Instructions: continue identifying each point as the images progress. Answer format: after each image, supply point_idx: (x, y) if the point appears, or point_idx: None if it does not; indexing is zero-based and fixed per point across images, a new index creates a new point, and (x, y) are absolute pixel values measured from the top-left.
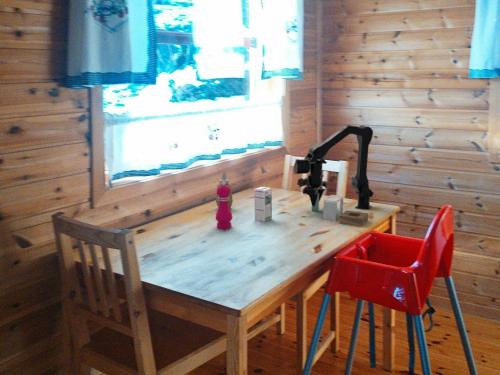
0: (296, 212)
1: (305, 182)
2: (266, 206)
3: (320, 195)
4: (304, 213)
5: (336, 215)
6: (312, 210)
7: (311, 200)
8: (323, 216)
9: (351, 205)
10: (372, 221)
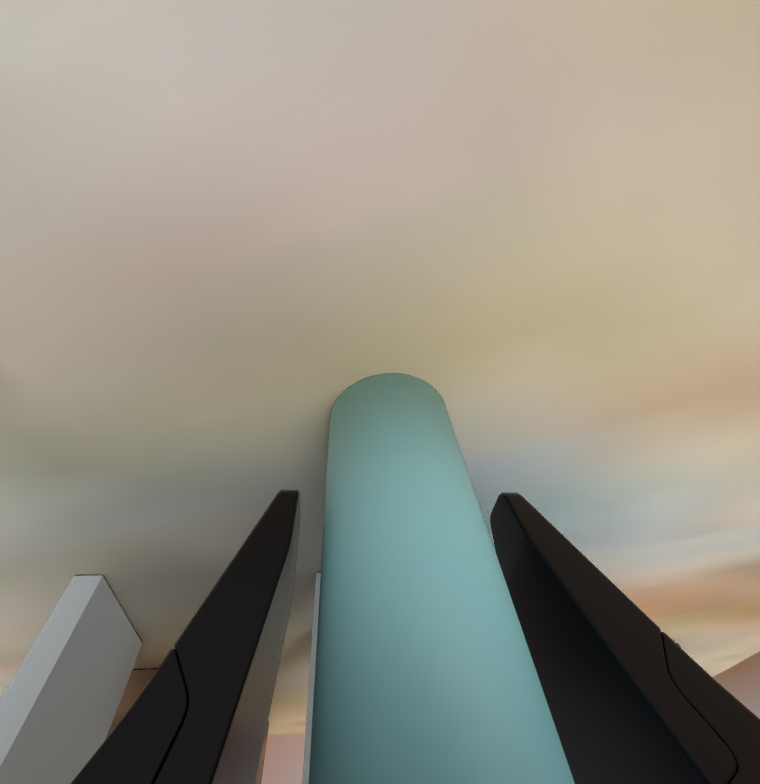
0: (47, 92)
1: None
2: None
3: (569, 767)
4: (121, 315)
5: (113, 700)
6: (335, 410)
7: (190, 641)
8: (56, 607)
9: (679, 613)
10: (269, 731)
